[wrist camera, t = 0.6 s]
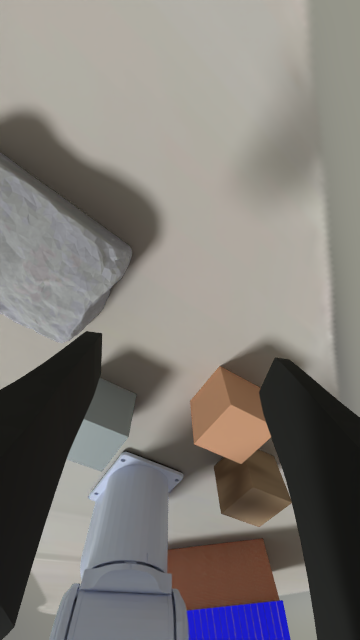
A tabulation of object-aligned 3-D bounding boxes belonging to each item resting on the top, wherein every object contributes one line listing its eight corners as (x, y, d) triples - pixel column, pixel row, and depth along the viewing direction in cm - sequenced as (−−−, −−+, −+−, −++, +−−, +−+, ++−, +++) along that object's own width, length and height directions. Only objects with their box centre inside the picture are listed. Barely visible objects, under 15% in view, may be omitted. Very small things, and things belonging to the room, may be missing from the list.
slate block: (113, 425, 26) (101, 471, 22) (68, 406, 25) (45, 451, 20) (136, 393, 25) (128, 436, 20) (89, 372, 23) (69, 413, 19)
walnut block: (246, 479, 31) (259, 527, 26) (213, 465, 30) (221, 513, 25) (273, 456, 29) (292, 502, 25) (240, 440, 28) (253, 487, 23)
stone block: (92, 327, 23) (146, 242, 18) (67, 362, 19) (127, 266, 14) (-37, 250, 21) (-14, 125, 15) (-97, 273, 17) (-94, 114, 11)
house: (132, 551, 38) (116, 687, 27) (264, 535, 37) (301, 669, 26) (149, 585, 43) (141, 711, 32) (265, 572, 42) (297, 697, 31)
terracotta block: (229, 419, 26) (241, 464, 22) (190, 400, 25) (193, 443, 21) (260, 387, 25) (280, 429, 20) (219, 365, 23) (230, 404, 19)
